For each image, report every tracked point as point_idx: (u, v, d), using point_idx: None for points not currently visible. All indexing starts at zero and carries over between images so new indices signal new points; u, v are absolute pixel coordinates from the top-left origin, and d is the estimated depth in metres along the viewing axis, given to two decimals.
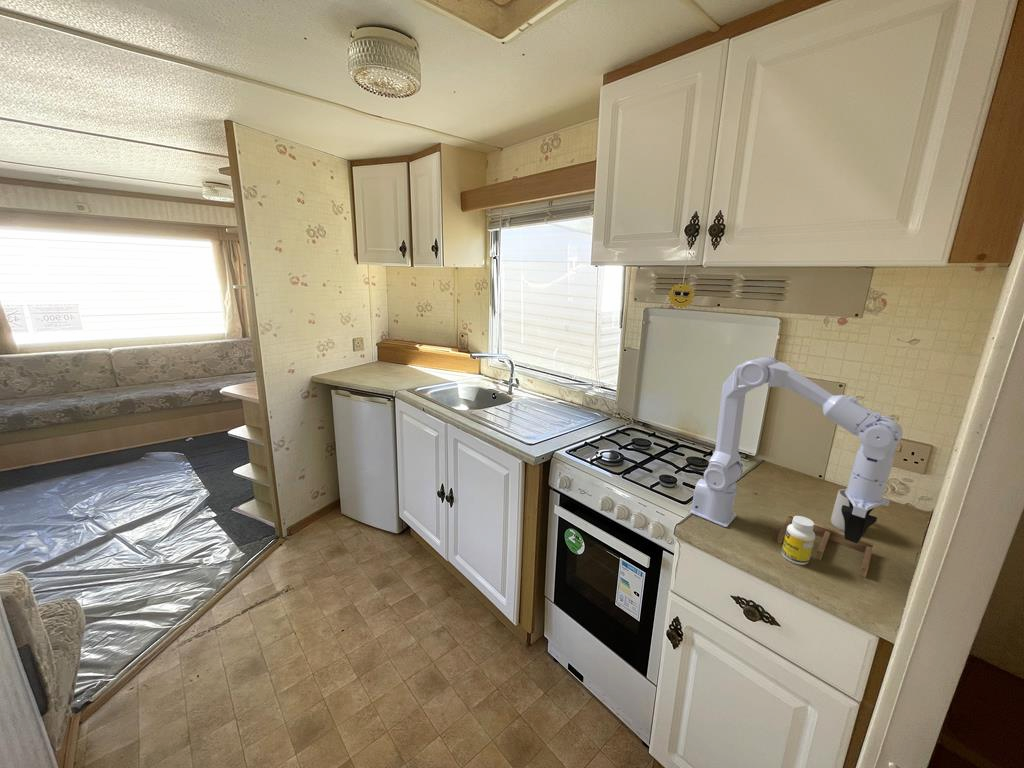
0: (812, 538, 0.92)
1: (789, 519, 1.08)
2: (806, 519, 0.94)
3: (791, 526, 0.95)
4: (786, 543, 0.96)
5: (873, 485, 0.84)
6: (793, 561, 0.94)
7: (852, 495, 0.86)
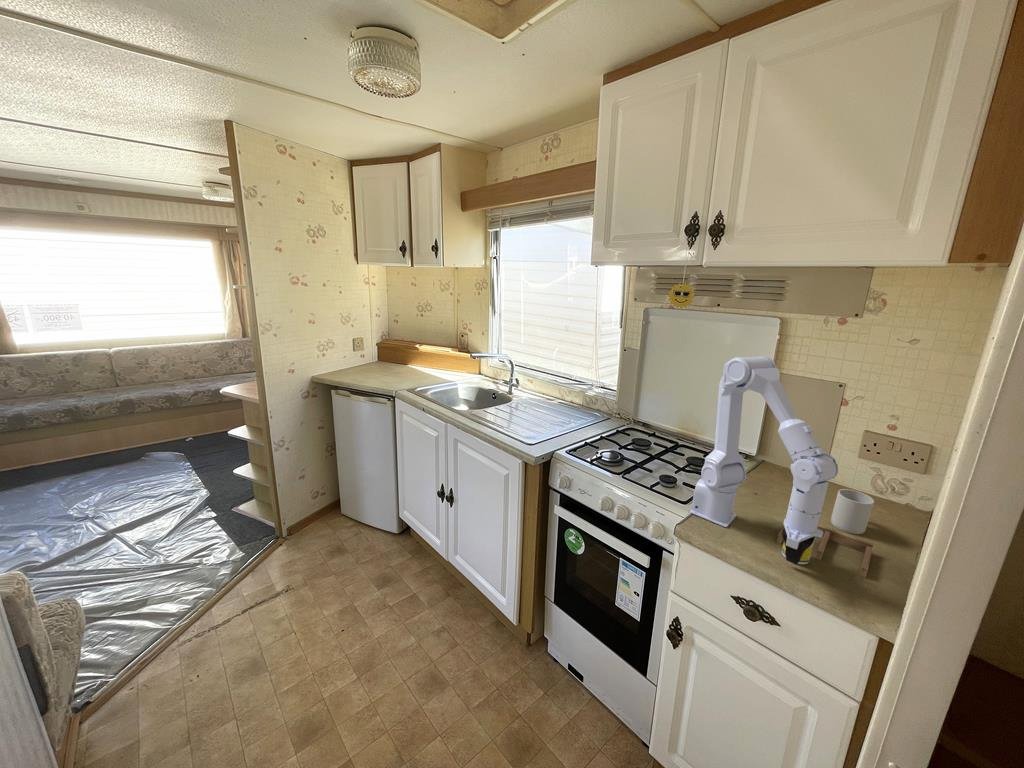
0: None
1: None
2: None
3: None
4: None
5: (806, 517, 0.87)
6: None
7: (788, 526, 0.90)
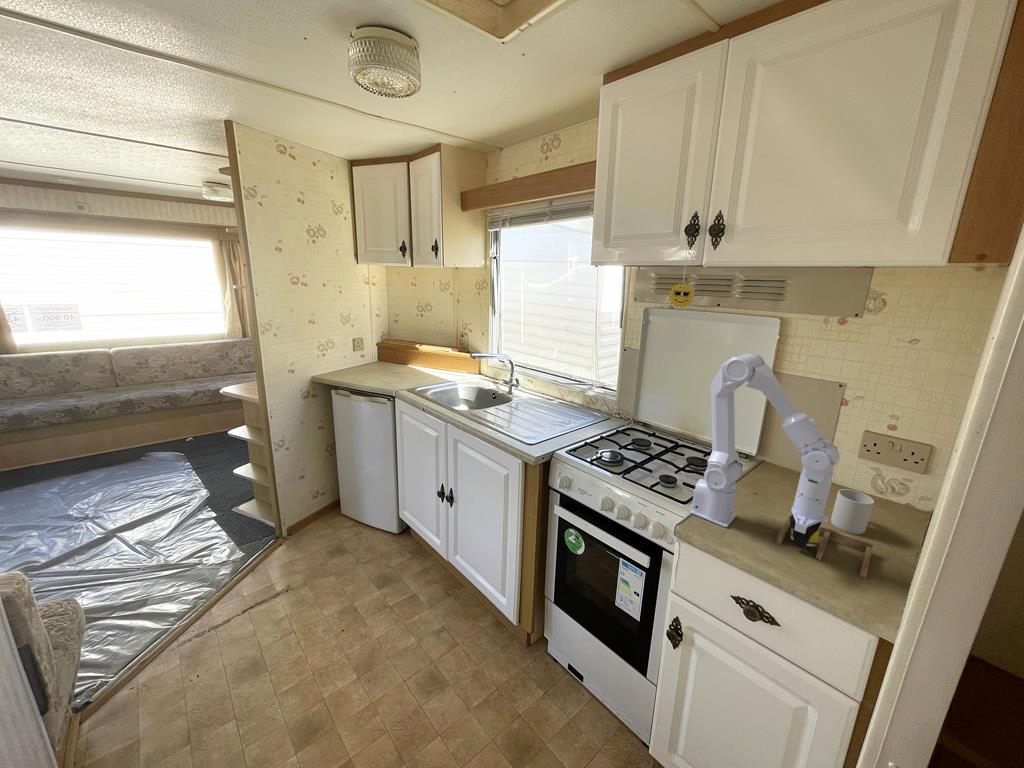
0: None
1: (789, 519, 1.08)
2: None
3: None
4: None
5: (814, 504, 0.93)
6: None
7: (796, 512, 0.95)
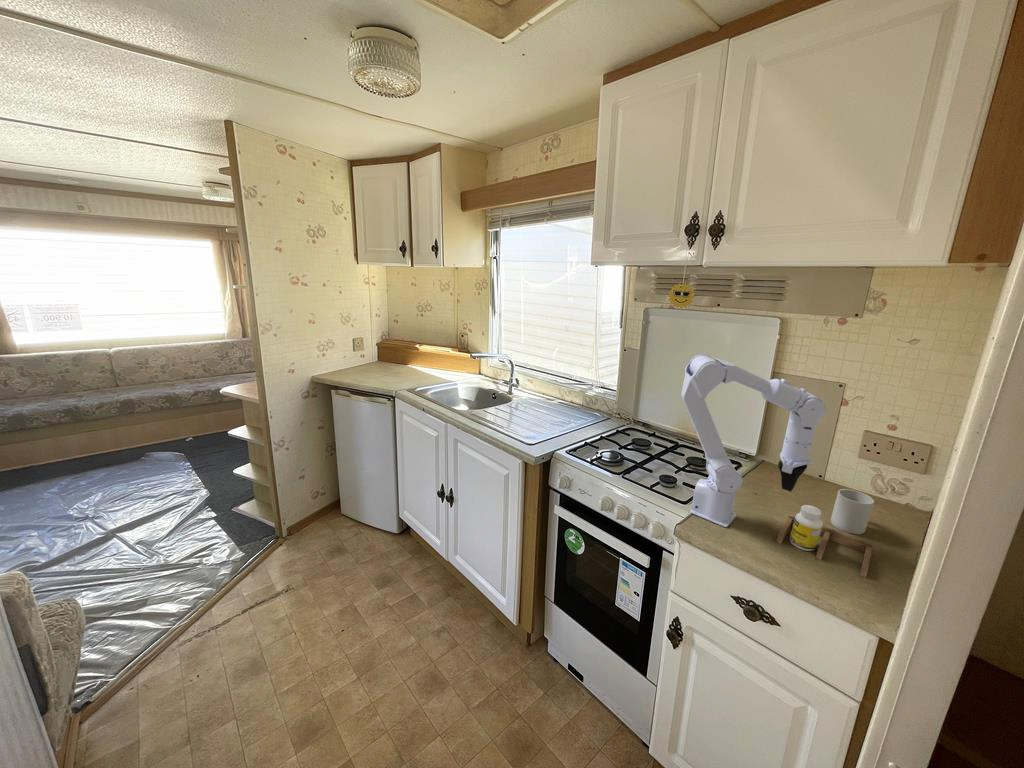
0: (820, 526, 0.97)
1: (789, 519, 1.08)
2: (813, 508, 0.99)
3: (799, 515, 1.00)
4: (795, 531, 1.00)
5: (799, 447, 1.01)
6: (802, 548, 0.99)
7: (784, 457, 1.04)
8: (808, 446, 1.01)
